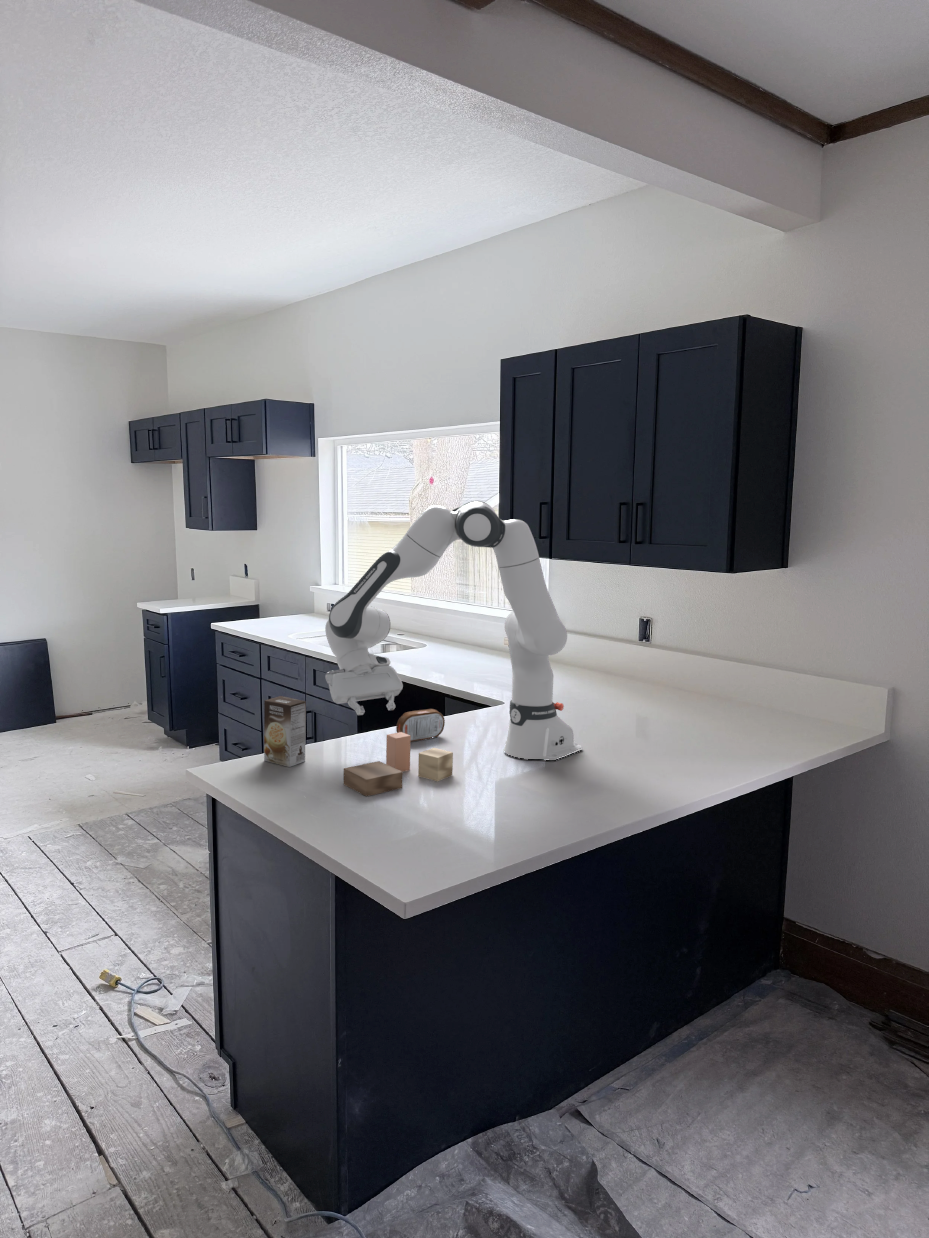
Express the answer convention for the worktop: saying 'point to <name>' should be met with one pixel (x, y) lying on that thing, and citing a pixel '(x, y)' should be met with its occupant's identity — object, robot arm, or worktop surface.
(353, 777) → the walnut block
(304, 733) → the coffee box
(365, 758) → the worktop surface
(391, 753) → the terracotta block
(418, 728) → the tin
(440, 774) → the oak cube
